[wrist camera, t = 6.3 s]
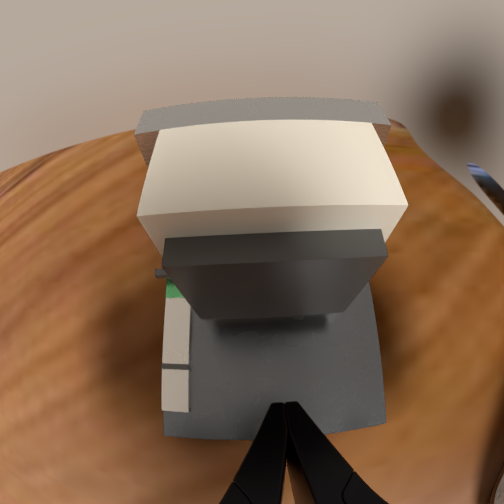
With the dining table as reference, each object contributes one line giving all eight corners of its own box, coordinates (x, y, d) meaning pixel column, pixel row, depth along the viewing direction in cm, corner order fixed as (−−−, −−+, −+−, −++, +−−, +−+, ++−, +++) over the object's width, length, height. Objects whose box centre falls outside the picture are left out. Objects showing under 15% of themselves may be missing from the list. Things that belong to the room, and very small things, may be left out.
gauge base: (379, 422, 13) (477, 430, 5) (169, 433, 14) (80, 456, 6) (345, 204, 20) (377, 102, 13) (181, 211, 21) (143, 110, 13)
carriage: (344, 320, 15) (418, 233, 7) (155, 327, 15) (62, 250, 7) (332, 241, 18) (371, 123, 10) (163, 249, 18) (103, 140, 10)
